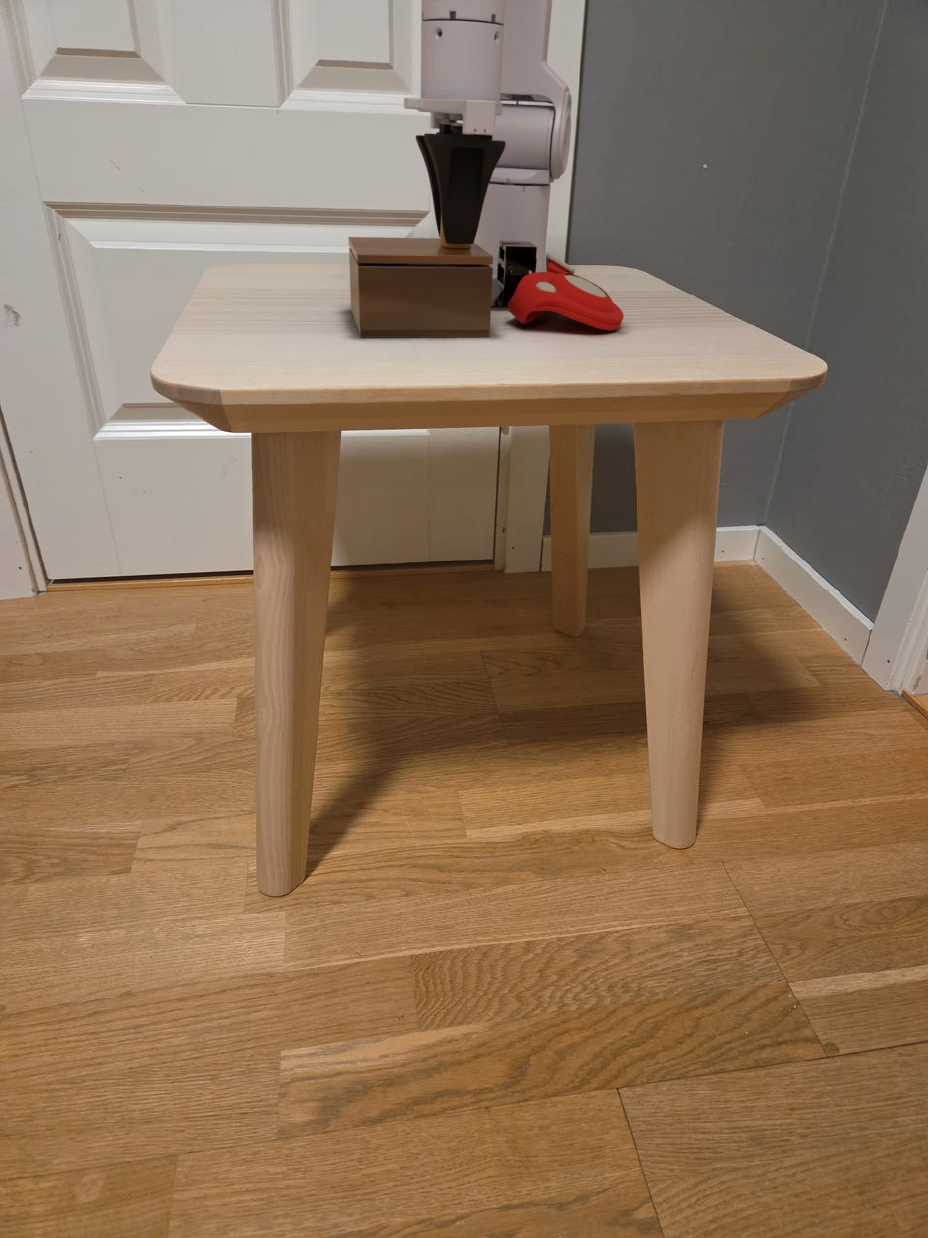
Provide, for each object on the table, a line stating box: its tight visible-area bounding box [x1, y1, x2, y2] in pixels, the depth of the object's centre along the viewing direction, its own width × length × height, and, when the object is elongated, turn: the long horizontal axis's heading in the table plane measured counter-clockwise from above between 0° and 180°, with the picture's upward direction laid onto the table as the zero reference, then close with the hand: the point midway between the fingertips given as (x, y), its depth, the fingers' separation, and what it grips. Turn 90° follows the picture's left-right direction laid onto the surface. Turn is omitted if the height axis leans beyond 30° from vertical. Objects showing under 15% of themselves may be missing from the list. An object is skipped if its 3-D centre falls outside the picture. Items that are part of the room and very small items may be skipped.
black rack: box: [491, 241, 537, 310], centre depth 77 cm, size 12×7×5 cm, turn 7°
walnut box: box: [348, 247, 493, 338], centre depth 65 cm, size 9×10×5 cm
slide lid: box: [347, 217, 493, 265], centre depth 62 cm, size 9×10×4 cm
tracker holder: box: [507, 252, 625, 331], centre depth 68 cm, size 12×4×10 cm
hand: (455, 240), depth 63 cm, fingers closed on slide lid, 2 cm apart
